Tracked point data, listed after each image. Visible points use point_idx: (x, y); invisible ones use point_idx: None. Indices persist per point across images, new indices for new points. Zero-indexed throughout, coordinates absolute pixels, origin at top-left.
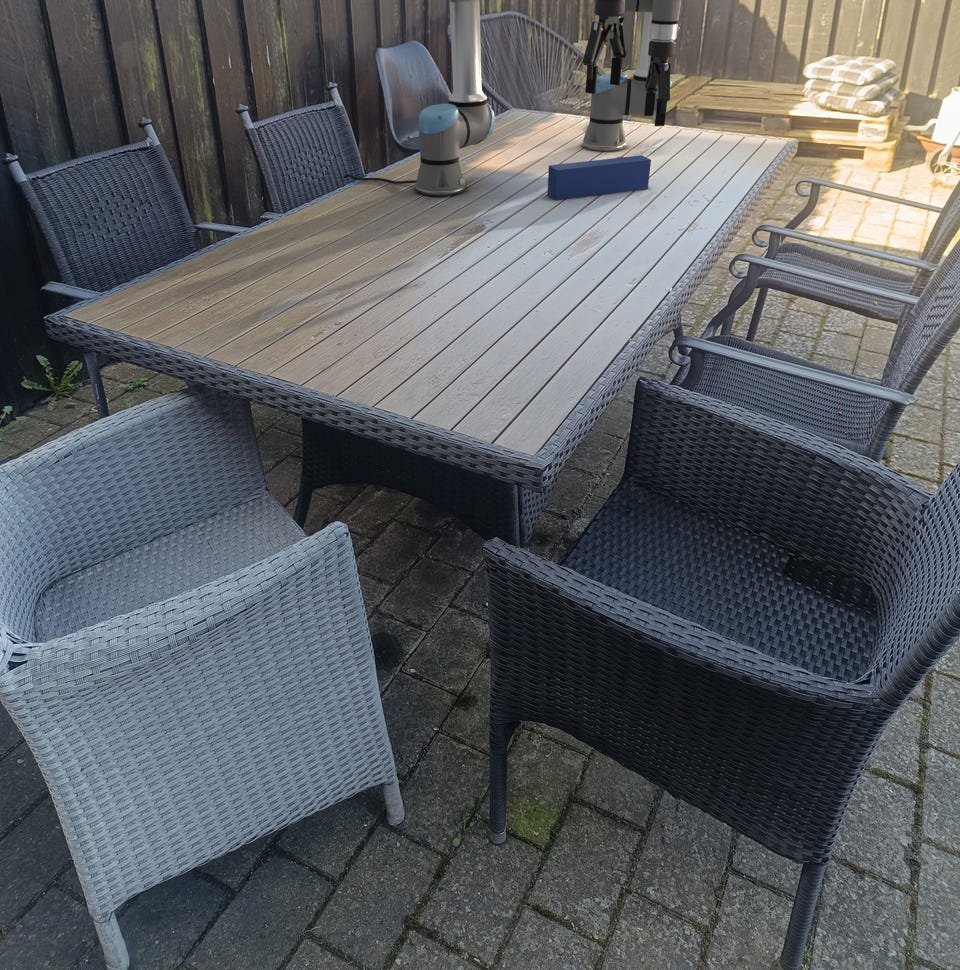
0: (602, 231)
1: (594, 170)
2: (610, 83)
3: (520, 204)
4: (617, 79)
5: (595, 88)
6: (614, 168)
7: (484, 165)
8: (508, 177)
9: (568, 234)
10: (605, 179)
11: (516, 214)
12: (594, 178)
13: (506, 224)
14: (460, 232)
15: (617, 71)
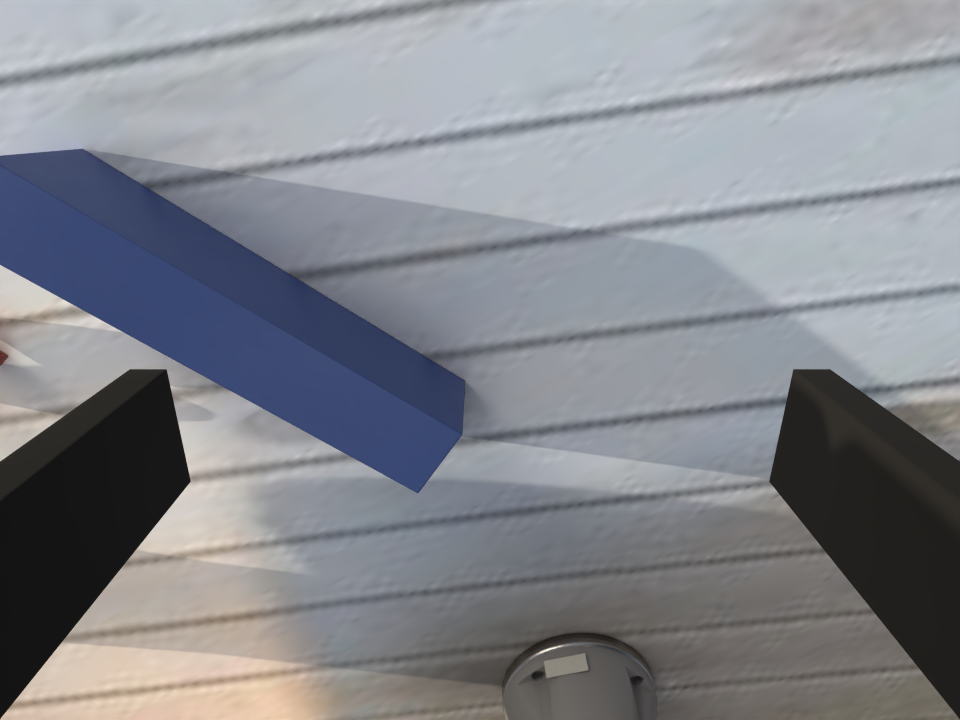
0: (715, 33)
1: (302, 330)
2: (184, 479)
3: (576, 449)
4: (132, 425)
5: (849, 395)
6: (204, 273)
7: (288, 716)
8: (344, 613)
9: (808, 138)
10: (261, 284)
11: (681, 407)
12: (308, 317)
13: None
14: None
15: (70, 496)
